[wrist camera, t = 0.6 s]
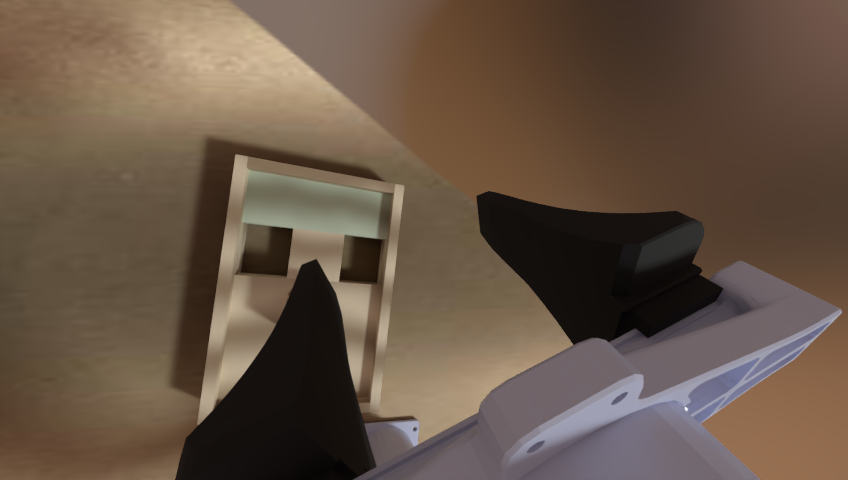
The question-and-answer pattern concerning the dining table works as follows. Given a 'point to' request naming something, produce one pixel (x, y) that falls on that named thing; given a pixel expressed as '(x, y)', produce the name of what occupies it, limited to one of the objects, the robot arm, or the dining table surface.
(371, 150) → the dining table surface
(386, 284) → the box
